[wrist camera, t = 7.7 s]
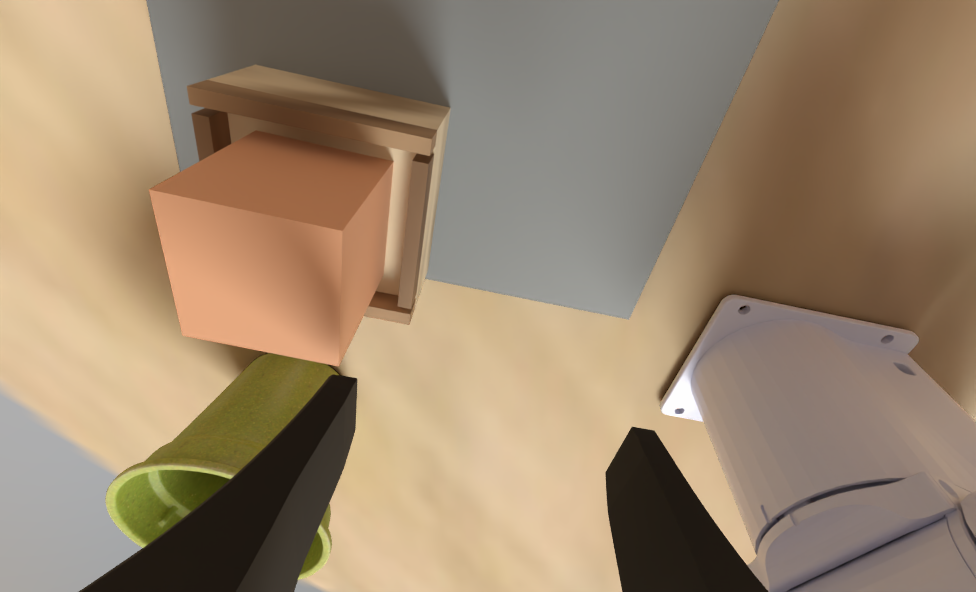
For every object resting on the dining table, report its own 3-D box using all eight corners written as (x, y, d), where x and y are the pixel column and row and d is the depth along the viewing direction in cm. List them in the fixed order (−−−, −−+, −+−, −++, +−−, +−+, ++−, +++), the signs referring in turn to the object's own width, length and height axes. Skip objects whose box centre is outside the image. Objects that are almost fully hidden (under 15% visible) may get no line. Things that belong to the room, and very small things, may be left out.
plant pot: (289, 296, 23) (184, 435, 16) (413, 405, 27) (372, 556, 20) (187, 369, 27) (64, 510, 20) (309, 456, 31) (244, 600, 24)
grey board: (873, -239, 12) (899, -256, 11) (625, 307, 22) (628, 319, 21) (85, -455, 11) (49, -491, 10) (204, 221, 21) (191, 231, 20)
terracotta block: (393, 161, 15) (342, 231, 11) (383, 274, 17) (339, 366, 13) (255, 130, 15) (148, 189, 10) (265, 249, 17) (182, 335, 13)
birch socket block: (450, 107, 17) (431, 139, 13) (427, 269, 21) (409, 324, 17) (255, 64, 16) (186, 86, 13) (270, 238, 20) (220, 288, 17)
